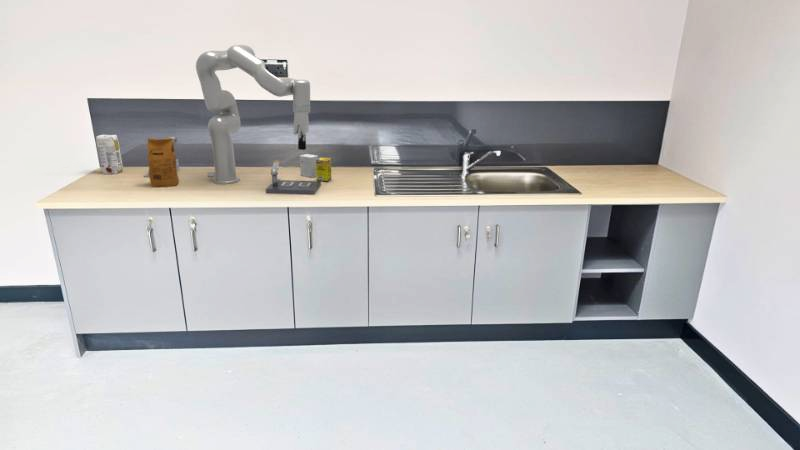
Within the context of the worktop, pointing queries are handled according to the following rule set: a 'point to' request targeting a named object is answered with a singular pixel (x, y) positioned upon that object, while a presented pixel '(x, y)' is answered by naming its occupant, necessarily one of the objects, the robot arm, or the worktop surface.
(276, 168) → the cable arm
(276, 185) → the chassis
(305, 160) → the small box
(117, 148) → the white flour bag
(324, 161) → the supplement box
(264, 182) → the worktop surface
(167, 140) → the coffee package
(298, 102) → the robot arm
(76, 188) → the worktop surface
